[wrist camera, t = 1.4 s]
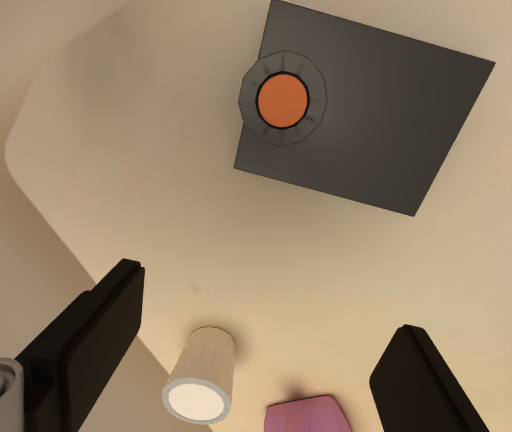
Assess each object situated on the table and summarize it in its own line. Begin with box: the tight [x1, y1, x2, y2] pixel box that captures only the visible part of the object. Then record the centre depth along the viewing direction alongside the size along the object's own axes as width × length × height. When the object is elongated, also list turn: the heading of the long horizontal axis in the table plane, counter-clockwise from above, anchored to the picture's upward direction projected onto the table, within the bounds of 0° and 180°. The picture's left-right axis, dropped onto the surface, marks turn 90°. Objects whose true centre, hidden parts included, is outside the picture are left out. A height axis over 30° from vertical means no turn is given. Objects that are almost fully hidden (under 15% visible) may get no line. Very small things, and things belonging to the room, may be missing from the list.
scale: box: [234, 0, 496, 217], centre depth 21 cm, size 17×12×3 cm
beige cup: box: [162, 327, 235, 425], centre depth 30 cm, size 7×7×7 cm
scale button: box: [259, 75, 307, 127], centre depth 19 cm, size 3×3×2 cm
